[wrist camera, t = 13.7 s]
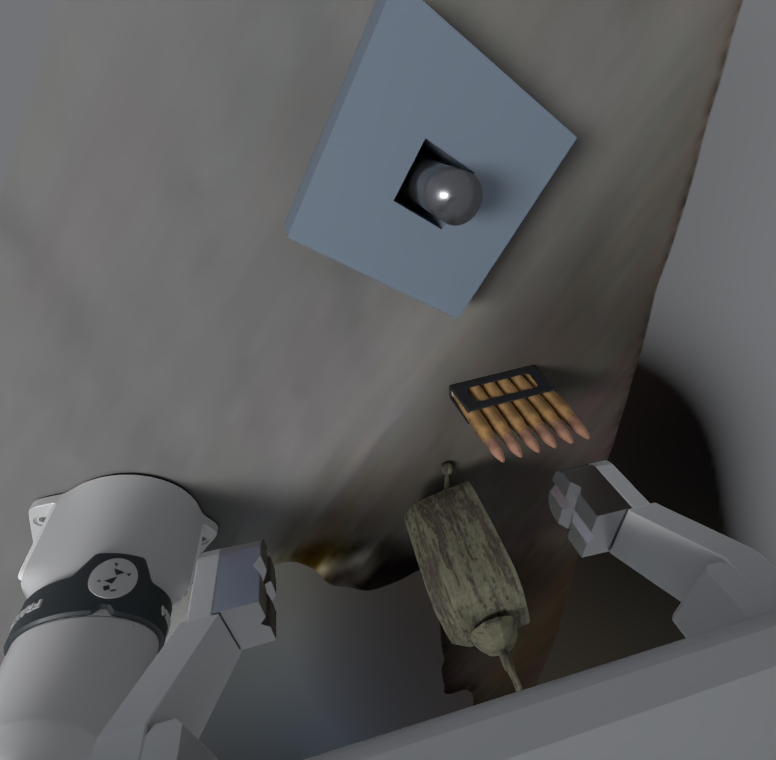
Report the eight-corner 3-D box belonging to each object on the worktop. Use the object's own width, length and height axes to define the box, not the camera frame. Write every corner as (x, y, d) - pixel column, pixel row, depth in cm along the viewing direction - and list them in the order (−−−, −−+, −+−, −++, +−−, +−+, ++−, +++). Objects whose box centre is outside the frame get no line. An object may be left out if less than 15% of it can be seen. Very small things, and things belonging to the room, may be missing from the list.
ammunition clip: (534, 364, 48) (600, 429, 38) (533, 377, 49) (596, 443, 40) (449, 385, 47) (494, 457, 37) (449, 397, 48) (494, 471, 38)
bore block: (439, 297, 40) (458, 319, 36) (285, 221, 33) (287, 237, 29) (541, 133, 34) (577, 137, 30) (378, -4, 27) (396, -23, 23)
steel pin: (428, 200, 35) (475, 228, 27) (392, 195, 34) (430, 222, 26) (436, 158, 33) (488, 175, 25) (399, 152, 32) (441, 167, 24)
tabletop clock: (472, 511, 62) (570, 709, 41) (417, 534, 61) (487, 743, 41) (453, 449, 53) (564, 660, 33) (389, 475, 53) (460, 703, 33)
